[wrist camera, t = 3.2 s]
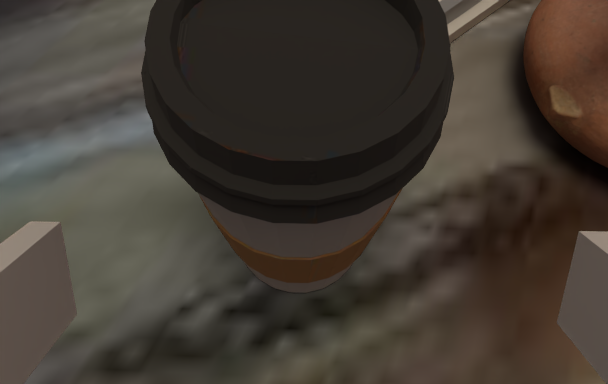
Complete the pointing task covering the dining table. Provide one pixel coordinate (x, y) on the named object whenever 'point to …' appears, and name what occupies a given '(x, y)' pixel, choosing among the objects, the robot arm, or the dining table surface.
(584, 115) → the ceramic jug
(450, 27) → the collar board
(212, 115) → the coffee cup
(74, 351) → the dining table surface
